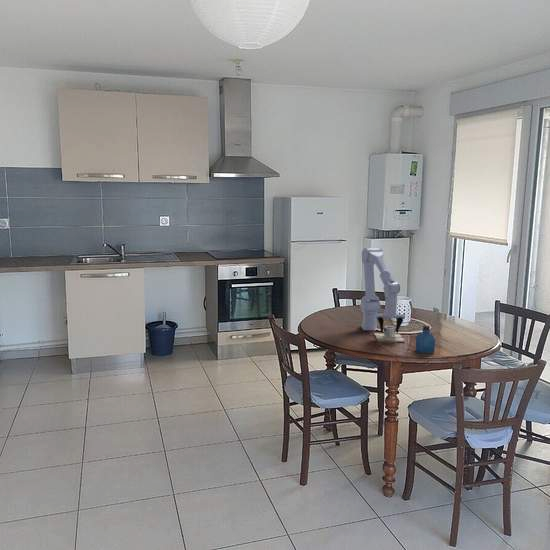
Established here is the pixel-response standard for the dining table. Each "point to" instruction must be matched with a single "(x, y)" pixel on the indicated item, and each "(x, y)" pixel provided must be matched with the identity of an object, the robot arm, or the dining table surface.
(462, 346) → the dining table surface
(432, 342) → the perfume bottle
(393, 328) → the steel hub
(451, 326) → the dining table surface
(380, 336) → the post stand
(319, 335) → the dining table surface
